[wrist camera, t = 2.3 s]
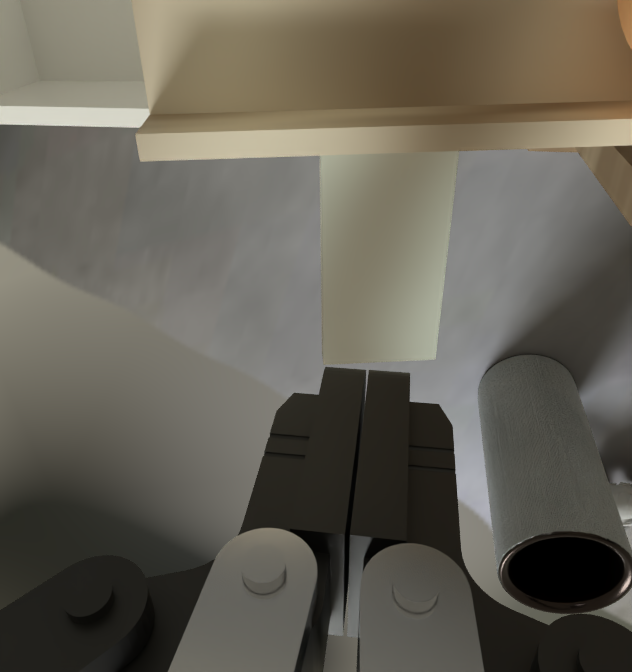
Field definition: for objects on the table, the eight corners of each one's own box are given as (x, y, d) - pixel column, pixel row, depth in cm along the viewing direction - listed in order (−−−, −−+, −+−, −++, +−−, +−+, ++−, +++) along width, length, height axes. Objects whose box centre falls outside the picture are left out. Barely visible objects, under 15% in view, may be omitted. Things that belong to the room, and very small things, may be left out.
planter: (472, 423, 31) (490, 607, 22) (482, 350, 28) (507, 526, 20) (565, 429, 30) (620, 622, 22) (584, 355, 28) (654, 540, 19)
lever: (1001, -254, 14) (1656, -433, 7) (777, 250, 21) (1008, 391, 15) (145, -248, 13) (13, -440, 7) (210, 273, 20) (178, 432, 14)
